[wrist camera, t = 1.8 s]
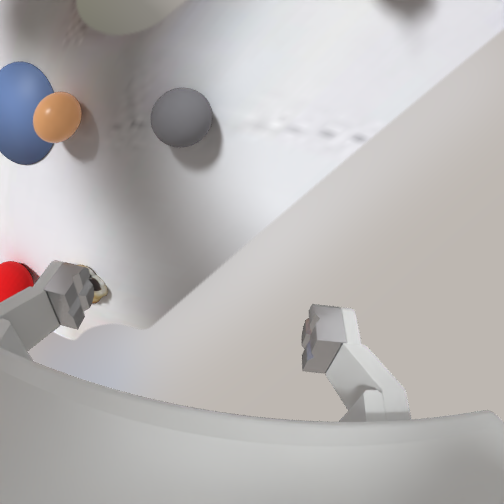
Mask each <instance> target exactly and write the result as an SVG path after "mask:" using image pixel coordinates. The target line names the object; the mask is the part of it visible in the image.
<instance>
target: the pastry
mask: <svg viewBox="0 0 504 504" xmlns="http://www.w3.org/2000/svg"><path fill="white" fill-rule="evenodd" d="M79 266H83V267H86V268H88V269H89V272H90V277H89V281H90V282H91V283H92V284H93V287H94V298H93V302H92V303H97V302H98V301H99V300H100V299H101V298H102V297H103V296H106V295H107V293H108V290H107V286H106V285H105V283H104V281H103V280H102V279H101V278H100V277H99V276H97V275H96V274H95V273H94V272H93V271H92V270H91V269H90V268H89V267H87V266H84V265H79Z"/></svg>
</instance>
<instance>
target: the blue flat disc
mask: <svg viewBox="0 0 504 504" xmlns="http://www.w3.org/2000/svg"><path fill="white" fill-rule="evenodd" d="M52 93H54V92H53V89H52V87H51V85H50V83H49V81H48V79H47V78H46V76H45V75H44V74H43V73H42V72H41V71H40V70H39V69H38V68H37V67H35V66H34V65H32V64H29V63H26V62H15V63H11V64H9V65H7V66H5V67H3V68H2V69H1V70H0V152H1V153H2V154H3V155H4V156H5V157H7V158H8V159H10V160H11V161H13V162H15V163H18V164H24V165H27V164H33V163H35V162H37V161H39V160H41V159H42V158H43V157H44V156H45V155H46V154H47V153H48V152H49V150H50V149H51V147H52V145H53V143H49V142H46V141H44V140H42V139H41V138H40V137H39V136H38V135H37V134H36V132H35V130H34V126H33V115H34V112H35V109H36V107H37V105H38V104H39V103H40V102H41V100H42V99H44V98H45V97H46V96H48V95H50V94H52Z"/></svg>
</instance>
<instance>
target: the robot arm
mask: <svg viewBox="0 0 504 504" xmlns="http://www.w3.org/2000/svg"><path fill="white" fill-rule="evenodd" d="M89 277H90V272H89V269H88V268H86V267H83V266H79V265H75V264H71V263H66V262H61V261H57V260H54V261H52V262H51V263H50V265H49V266H48V267H47V269H46V270H45V271H44V272H43V274H42V275H41V276H40V278H39V279H38V280H37V282H36V283H35V284H34V286H33V287H28V288H26V289H24V290H22V291H20V292H18V293H17V294H15V295H13V296H11V297H9V298H7V299H6V300H4V301H2V302H0V504H504V422H503V421H502V420H501V419H500V418H499V417H498V416H497V415H496V414H495V413H493V412H492V411H489V410H483V411H477V412H471V413H464V414H458V415H450V416H442V417H434V418H424V419H412V420H411V415H410V410H409V404H408V399H407V395H406V391H405V388H404V387H403V386H402V385H401V384H400V383H399V382H398V381H397V379H396V378H395V377H394V376H393V375H392V374H391V373H390V372H389V370H388V369H387V368H386V367H385V366H384V365H383V364H382V362H381V361H380V360H379V359H378V358H377V357H376V356H375V355H374V354H373V353H372V351H371V350H370V349H369V348H368V347H367V346H366V345H362V342H361V337H360V332H359V327H358V323H357V318H356V313H355V310H354V309H353V308H344V307H334V306H325V305H316V304H312V306H311V307H310V310H309V318H308V319H307V320H305V324H304V326H303V332H302V346H303V347H304V349H305V350H304V352H303V355H302V368H303V371H308V372H316V373H326V374H325V375H326V376H327V378H328V380H329V381H330V383H331V384H332V386H333V387H334V389H335V391H336V392H337V394H338V395H339V397H340V398H341V400H342V401H343V403H344V405H345V406H346V408H347V409H348V412H347V413H346V414H345V415H344V417H342V418H341V420H340V421H339V422H323V421H301V420H286V419H273V418H263V417H254V416H246V415H238V414H230V413H223V412H217V411H210V410H205V409H199V408H193V407H188V406H183V405H178V404H173V403H168V402H163V401H159V400H155V399H151V398H146V397H142V396H138V395H134V394H130V393H127V392H123V391H119V390H116V389H112V388H109V387H105V386H102V385H98V384H95V383H92V382H89V381H86V380H83V379H79V378H77V377H74V376H71V375H68V374H65V373H63V372H60V371H57V370H54V369H52V368H49V367H46V366H44V365H41V364H39V363H36V362H34V361H33V359H32V358H31V356H30V355H29V353H28V352H27V351H29V350H30V349H31V348H32V347H33V346H35V345H36V344H37V343H39V342H40V341H41V340H43V339H44V338H45V337H46V336H48V335H49V334H50V333H51V332H53V331H54V330H55V329H57V328H58V327H59V326H60V325H63V326H66V327H70V328H74V329H78V328H79V326H80V324H81V323H82V321H83V319H84V317H85V315H84V311H85V310H87V309H89V308H90V306H91V304H92V302H93V298H94V287H93V284H92V283H91V282H90V281H89Z"/></svg>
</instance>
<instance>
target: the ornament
mask: <svg viewBox="0 0 504 504" xmlns="http://www.w3.org/2000/svg"><path fill="white" fill-rule="evenodd" d="M33 286H34V283H33V279H32V277H31V274H30V273H29V271H28V270H27V269H26V268H25V267H24V266H23V265H22V264H20V263H17V262H14V261H8V262H4V263H2V264H0V302H2V301H4V300H6V299H7V298H9V297H11V296H13V295H15V294H17V293H18V292H20V291H22V290H24V289H26V288H28V287H33Z"/></svg>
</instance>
